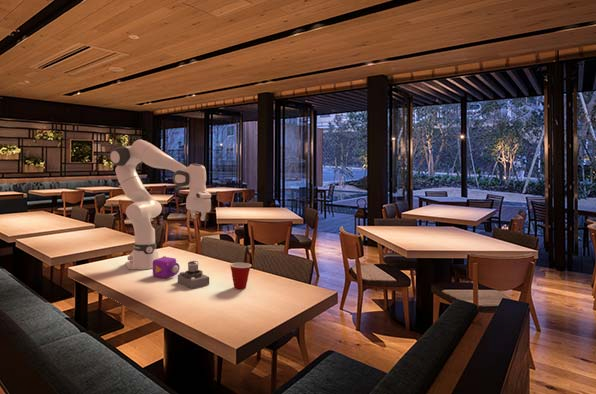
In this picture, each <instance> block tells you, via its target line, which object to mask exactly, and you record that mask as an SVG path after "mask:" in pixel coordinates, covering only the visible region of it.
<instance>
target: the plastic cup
mask: <svg viewBox="0 0 596 394" xmlns="http://www.w3.org/2000/svg"><path fill="white" fill-rule="evenodd" d="M229 266H230V271H231V277H232V283H233V287H234V289H235V290H245V289H246V288H247V286H248V285H247V284H248V279H249V274H250V270H251V268H252V264H251V263H247V262H231V263H229Z"/></svg>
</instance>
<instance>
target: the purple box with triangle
mask: <svg viewBox="0 0 596 394" xmlns="http://www.w3.org/2000/svg"><path fill="white" fill-rule="evenodd" d="M180 268H181V267H180V264H179V263H178V262H177V259H176V258H174V257H167V256H166V255H163V256H162V257H159V258H158V259H155V260H153V268H152V276H153V277H155V278H161V279H167V278H169V277H173V276H175V275H178V274H179V273H180Z"/></svg>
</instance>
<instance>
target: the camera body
mask: <svg viewBox="0 0 596 394" xmlns="http://www.w3.org/2000/svg"><path fill="white" fill-rule="evenodd" d="M203 273H204V272H203V270H201V269H198V273H196V274H188V270H185V272H184V271H182V272H179V273H178V274H177V283H178V284H181V285H183V286H185V287H187V288H189V289H191V290H192V289H197V288H201V287H205V286H210V276H209V275H205V274H203Z"/></svg>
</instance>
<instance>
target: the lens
mask: <svg viewBox="0 0 596 394" xmlns="http://www.w3.org/2000/svg"><path fill="white" fill-rule="evenodd" d="M187 268H188V269H187V271H188V274H196V273H198V270H199V261H197V260H190V261H188V262H187Z"/></svg>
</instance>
